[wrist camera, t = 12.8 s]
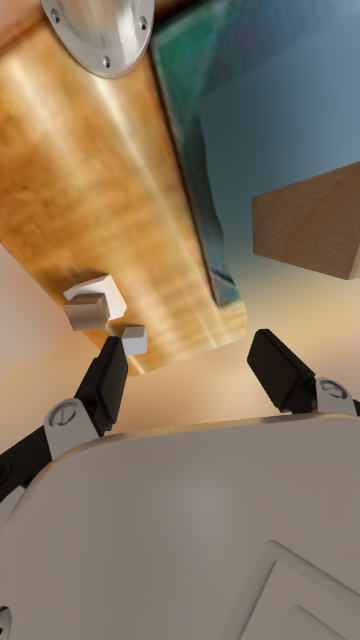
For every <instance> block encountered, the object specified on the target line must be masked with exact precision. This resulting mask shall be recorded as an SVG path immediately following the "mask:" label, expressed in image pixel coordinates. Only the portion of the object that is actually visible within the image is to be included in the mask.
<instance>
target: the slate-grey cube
mask: <svg viewBox="0 0 360 640" xmlns="http://www.w3.org/2000/svg"><path fill="white" fill-rule="evenodd" d="M121 339H122V343H123V347H124V351H125V355H133V354H145V353H146V351H147V343H148V339H147V333H146V327H145V326H134V327H125V330H124V333H123V335H122V338H121Z"/></svg>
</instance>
